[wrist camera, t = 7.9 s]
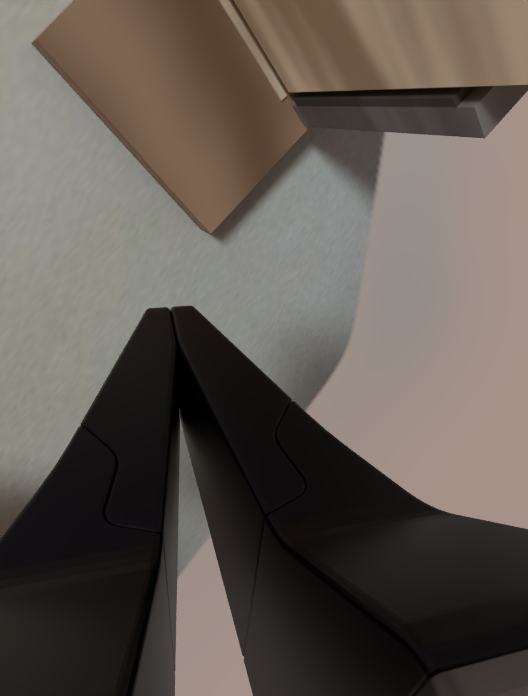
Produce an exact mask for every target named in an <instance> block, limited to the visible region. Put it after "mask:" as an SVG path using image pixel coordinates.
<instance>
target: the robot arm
mask: <svg viewBox="0 0 528 696" xmlns="http://www.w3.org/2000/svg"><path fill="white" fill-rule="evenodd" d="M179 412H180V414H179ZM180 418H181V423H182V427H183V432H184V435H185V439H186V443H187V447H188V451H189V454H190V458H191V462H192V466H193V470H194V473H195V477H196V481H197V485H198V488H199V492H200V496H201V500H202V504H203V507H204V511H205V515H206V519H207V523H208V526H209V530H210V534H211V538H212V541H213V545H214V549H215V553H216V557H217V560H218V564H219V568H220V572H221V575H222V579H223V583H224V586H225V591H226V594H227V598H228V602H229V606H230V609H231V613H232V617H233V621H234V625H235V628H236V632H237V636H238V640H239V644H240V647H241V651H242V655H243V656H244V663H245V667H246V670H247V674H248V678H249V682H250V686H251V689H252V693H253V696H528V529H524V528H519V527H514V526H509V525H504V524H499V523H494V522H490V521H485V520H480V519H475V518H470V517H465V516H460V515H455V514H451V513H447V512H445V511H442V510H439V509H436V508H434V507H432V506H430V505H428V504H426V503H424V502H422V501H421V500H419V499H417V498H416V497H414V496H413V495H411V494H410V493H408V492H407V491H406V490H404V489H403V488H401V487H400V486H399V485H398V484H396V483H395V482H393V481H392V480H391V479H389V478H388V477H387V476H385V475H384V474H383V473H382V472H380V471H379V470H377V469H376V468H375V467H373V466H372V465H371V464H369V463H368V462H367V461H365V460H364V459H363V458H361V457H360V456H359V455H357V454H356V453H355V452H353V451H352V450H351V449H349V448H348V447H347V446H345V445H344V444H343V443H342V442H340V441H339V440H338V439H337V438H335V437H334V436H333V435H332V434H330V433H329V432H328V431H326V430H325V429H324V428H323V427H322V426H321V425H320V424H319V423H317V422H316V421H315V420H314V419H313V418H312V417H310V415H308V414H307V413H306V412H305V411H304V410H303V409H302V408H301V407H300V406H299V405H298V404H297V403H296V402H294V401H292V399H291V398H290V397H289V396H288V395H287V394H286V393H285V392H284V391H283V390H281V389H280V388H279V387H278V386H277V385H276V384H275V383H274V382H273V381H272V380H271V379H270V378H269V377H268V376H267V375H266V374H264V373H263V372H262V371H261V370H260V369H259V368H258V367H257V366H256V365H255V364H254V363H253V362H252V361H251V360H250V359H249V358H247V357H246V356H245V355H244V354H243V353H242V352H241V351H240V350H239V349H238V348H237V347H236V346H235V345H234V344H233V343H232V342H230V341H229V340H228V339H227V338H226V337H225V336H224V335H223V334H222V333H221V332H220V331H219V330H218V329H217V328H216V327H215V326H213V325H212V324H211V323H210V322H209V321H208V320H207V319H206V318H205V317H204V316H203V315H202V314H201V313H200V312H199V311H198V310H196V309H195V308H194V307H193V306H178V307H172V308H171V310H170V309H169V308H167V307H164V308H149V309H147V310H146V311H145V313H144V315H143V316H142V318H141V320H140V322H139V323H138V325H137V327H136V329H135V330H134V332H133V334H132V336H131V337H130V339H129V341H128V343H127V344H126V346H125V348H124V349H123V351H122V353H121V355H120V356H119V358H118V360H117V362H116V363H115V365H114V367H113V369H112V370H111V372H110V374H109V376H108V377H107V379H106V381H105V382H104V384H103V386H102V388H101V389H100V391H99V393H98V395H97V396H96V398H95V400H94V402H93V403H92V405H91V407H90V409H89V410H88V412H87V414H86V415H85V417H84V419H83V421H82V422H81V426H80V427H78V429H77V431H76V432H75V434H74V436H73V438H72V439H71V441H70V443H69V445H68V446H67V448H66V449H65V451H64V453H63V454H62V456H61V457H60V459H59V460H58V462H57V464H56V465H55V467H54V468H53V470H52V471H51V472H50V474H49V475H48V477H47V478H46V479H45V481H44V482H43V483H42V485H41V486H40V488H39V489H38V490H37V492H36V493H35V494H34V496H33V497H32V498H31V500H30V501H29V502H28V504H27V505H26V506H25V508H24V509H23V510H22V511H21V513H20V514H19V515H18V517H17V518H16V519H15V521H14V522H13V523H12V524H11V526H10V527H9V528H8V530H7V531H6V532H5V534H4V535H3V536H2V537H1V539H0V696H175V651H176V600H177V599H176V598H177V552H178V501H179V451H180Z"/></svg>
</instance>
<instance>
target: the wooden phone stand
mask: <svg viewBox="0 0 528 696" xmlns="http://www.w3.org/2000/svg"><path fill="white" fill-rule="evenodd" d="M32 45H33V46H34V47H35V48H36V49H37V50H38V51H39V52H40V53H41V54H42V56H43V57H44V58H45V59H46V60H47V61H48V62H49V63H50V64H51V65H52V67H53V68H54V69H55V70H56V71H57V72H58V73H59V74H60V75H61V76H62V78H63V79H64V80H65V81H66V82H67V83H68V84H69V85H70V86H71V87H72V89H73V90H74V91H75V92H76V93H77V94H78V95H79V96H80V97H81V98H82V100H83V101H84V102H85V103H86V104H87V105H88V106H89V107H90V108H91V109H92V111H93V112H94V113H95V114H96V115H97V116H98V117H99V118H100V119H101V120H102V121H103V123H104V124H105V125H106V126H107V127H108V128H109V129H110V130H111V131H112V132H113V134H114V135H115V136H116V137H117V138H118V139H119V140H120V141H121V142H122V143H123V145H124V146H125V147H126V148H127V149H128V150H129V151H130V152H131V153H132V154H133V156H134V157H135V158H136V159H137V160H138V161H139V162H140V163H141V164H142V165H143V167H144V168H145V169H146V170H147V171H148V172H149V173H150V174H151V175H152V176H153V178H154V179H155V180H156V181H157V182H158V183H159V184H160V185H161V186H162V187H163V189H164V190H165V191H166V192H167V193H168V194H169V195H170V196H171V197H172V198H173V200H174V201H175V202H176V203H177V204H178V205H179V206H180V207H181V208H182V209H183V211H184V212H185V213H186V214H187V215H188V216H189V217H190V218H191V219H192V220H193V222H194V223H195V224H196V225H197V226H198V227H199V228H200V229H202V230H204V231H206V232H208V233H210V234H211V233H212V232H213V231H214V230H215V229H216V228H217V227H218V226H219V225H220V224H221V222H222V221H223V220H224V219H225V218H226V217H227V216H228V215H229V214H230V213H231V212H232V211H233V210H234V208H235V207H236V206H237V205H238V204H239V203H240V202H241V201H242V200H243V199H244V198H245V197H246V195H247V194H248V193H249V192H250V191H251V190H252V189H253V188H254V187H255V186H256V185H257V184H258V183H259V181H260V180H261V179H262V178H263V177H264V176H265V175H266V174H267V173H268V172H269V171H270V170H271V168H272V167H273V166H274V165H275V164H276V163H277V162H278V161H279V160H280V159H281V158H282V157H283V156H284V154H285V153H286V152H287V151H288V150H289V149H290V148H291V147H292V146H293V145H294V144H295V143H296V141H297V140H298V139H299V138H300V137H301V136H302V135H303V134H304V133H305V132H306V131H307V130H308V128H309V127H320V128H335V129H351V130H366V131H382V132H398V133H414V134H428V135H444V136H460V137H474V138H485V137H486V136H487V135H488V134H489V133H490V132H491V131H492V130H493V129H494V127H495V126H496V125H497V124H498V123H499V122H500V121H501V120H502V118H503V117H504V116H505V115H506V114H507V113H508V112H509V110H511V109H512V107H513V106H514V105H515V104H516V103H517V102H518V101H519V100H520V98H521V97H522V96H523V95H524V94H525V93H526V92H527V91H528V85H504V86H473V87H442V88H412V89H381V90H350V91H320V92H288V90H287V89H286V87H285V85H284V84H283V82H282V80H281V79H280V77H279V75H278V74H277V72H276V70H275V69H274V67H273V65H272V64H271V62H270V60H269V59H268V57H267V55H266V54H265V52H264V51H263V49H262V47H261V46H260V44H259V42H258V41H257V39H256V37H255V36H254V34H253V32H252V31H251V29H250V27H249V26H248V24H247V22H246V21H245V19H244V17H243V16H242V14H241V12H240V11H239V9H238V7H237V6H236V4H235V2H234V1H233V0H74V1H73V2H72V3H71V4H70V5H69V6H68V7H67V8H66V9H65V10H64V11H63V12H62V13H61V14H60V15H59V16H58V17H57V18H56V19H55V20H54V21H53V22H52V23H51V24H50V25H49V26H48V27H47V28H46V29H45V30H44V31H43V32H42V33H41V34H40V35H39V36H38V37H37V38H36V39H35V40H34V41H33V42H32Z"/></svg>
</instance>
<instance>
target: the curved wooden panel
mask: <svg viewBox="0 0 528 696" xmlns="http://www.w3.org/2000/svg"><path fill="white" fill-rule="evenodd" d="M233 1H234V2H235V4H236V6H237V7H238V9H239V11H240V12H241V14H242V16H243V17H244V19H245V21H246V22H247V24H248V26H249V27H250V29H251V31H252V32H253V34H254V36H255V37H256V39H257V41H258V42H259V44H260V46H261V47H262V49H263V51H264V52H265V54H266V55H267V57H268V59H269V60H270V62H271V64H272V65H273V67H274V69H275V70H276V72H277V74H278V75H279V77H280V79H281V80H282V82H283V84H284V85H285V87H286V89H287V90H288V92H320V91H350V90H381V89H412V88H442V87H473V86H504V85H528V0H233Z"/></svg>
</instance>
